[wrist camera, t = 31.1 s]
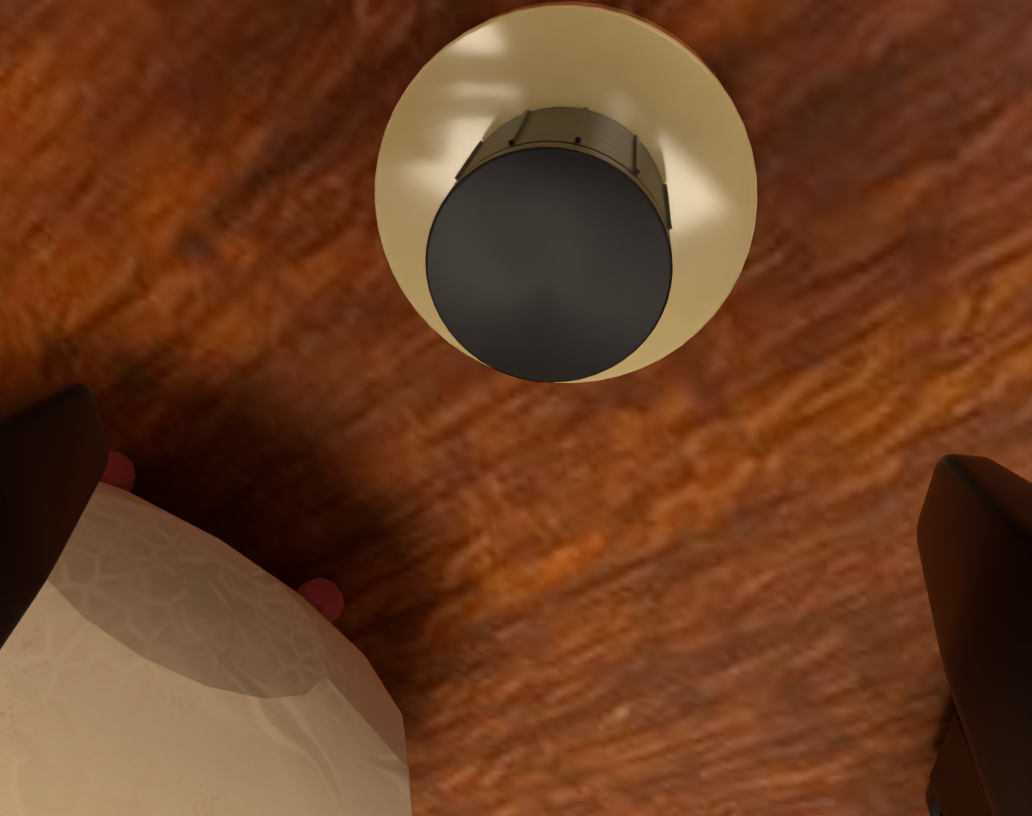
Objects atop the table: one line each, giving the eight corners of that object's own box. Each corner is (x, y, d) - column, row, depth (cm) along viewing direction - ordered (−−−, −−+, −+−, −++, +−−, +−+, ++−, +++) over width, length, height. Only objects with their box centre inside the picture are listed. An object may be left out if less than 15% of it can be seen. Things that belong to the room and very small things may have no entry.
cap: (704, 247, 16) (718, 313, 14) (531, 342, 18) (513, 420, 15) (596, 61, 15) (587, 94, 12) (419, 180, 16) (375, 233, 14)
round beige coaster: (784, 8, 15) (791, 13, 14) (724, 379, 19) (727, 397, 18) (374, -7, 16) (361, -4, 15) (392, 353, 19) (383, 370, 18)
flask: (573, 596, 22) (262, 871, 31) (-20, 213, 18) (-173, 646, 27) (521, 1004, 14) (124, 1213, 23) (-523, 464, 11) (-507, 955, 20)
